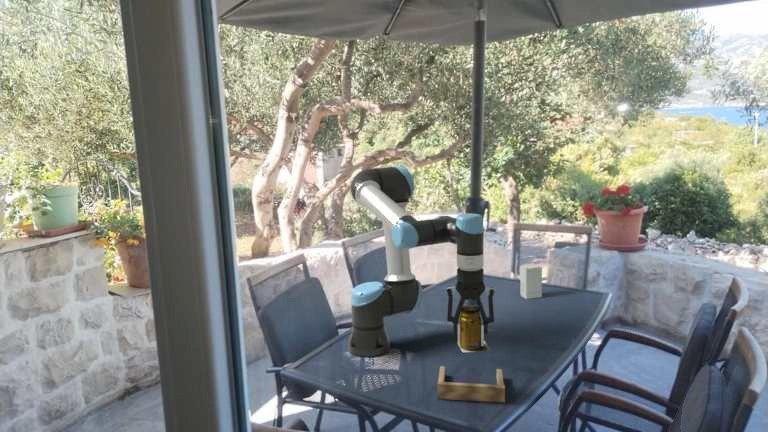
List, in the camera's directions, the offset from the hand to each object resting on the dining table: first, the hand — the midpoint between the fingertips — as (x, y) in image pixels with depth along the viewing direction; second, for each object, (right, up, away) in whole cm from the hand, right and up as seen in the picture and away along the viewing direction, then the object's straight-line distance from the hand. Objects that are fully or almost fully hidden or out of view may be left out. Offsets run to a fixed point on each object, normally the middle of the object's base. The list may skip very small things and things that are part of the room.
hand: (470, 343), depth 146 cm
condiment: (+1, -1, 0) cm, 1 cm away
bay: (+1, -14, +3) cm, 14 cm away
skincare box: (+43, 0, +84) cm, 94 cm away
